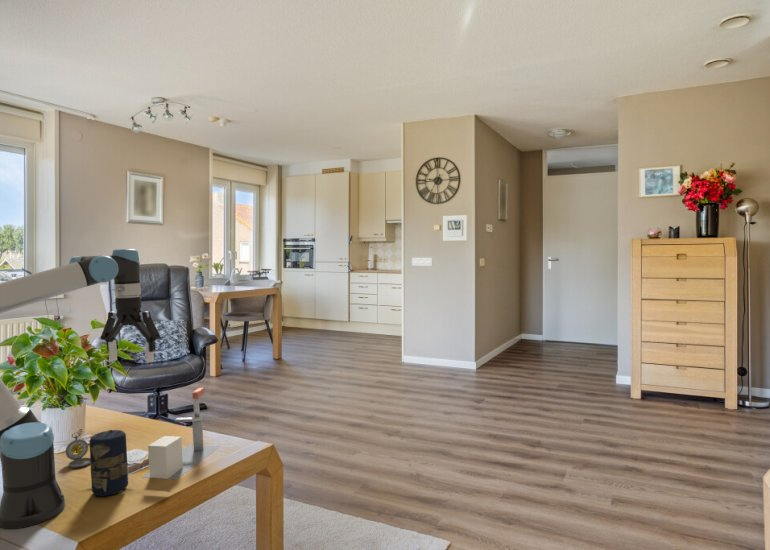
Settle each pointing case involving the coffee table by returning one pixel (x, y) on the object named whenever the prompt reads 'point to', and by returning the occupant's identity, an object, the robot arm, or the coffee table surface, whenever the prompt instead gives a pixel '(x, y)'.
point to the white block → (165, 457)
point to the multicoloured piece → (196, 417)
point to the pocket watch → (76, 447)
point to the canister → (108, 462)
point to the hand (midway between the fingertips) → (131, 361)
